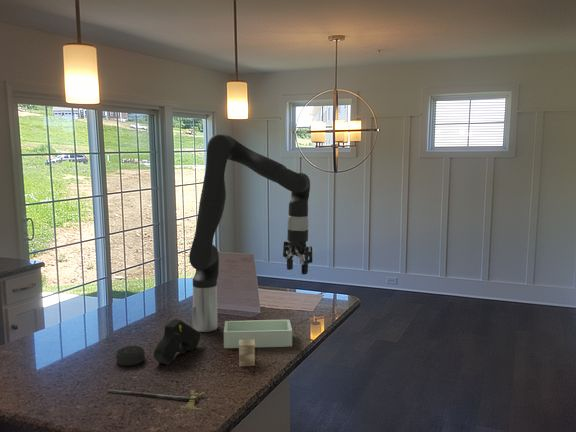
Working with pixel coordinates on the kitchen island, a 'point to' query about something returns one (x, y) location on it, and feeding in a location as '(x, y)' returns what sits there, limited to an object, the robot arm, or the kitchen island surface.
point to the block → (247, 352)
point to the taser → (176, 341)
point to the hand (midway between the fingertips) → (297, 271)
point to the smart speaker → (130, 355)
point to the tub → (258, 333)
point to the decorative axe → (166, 397)
